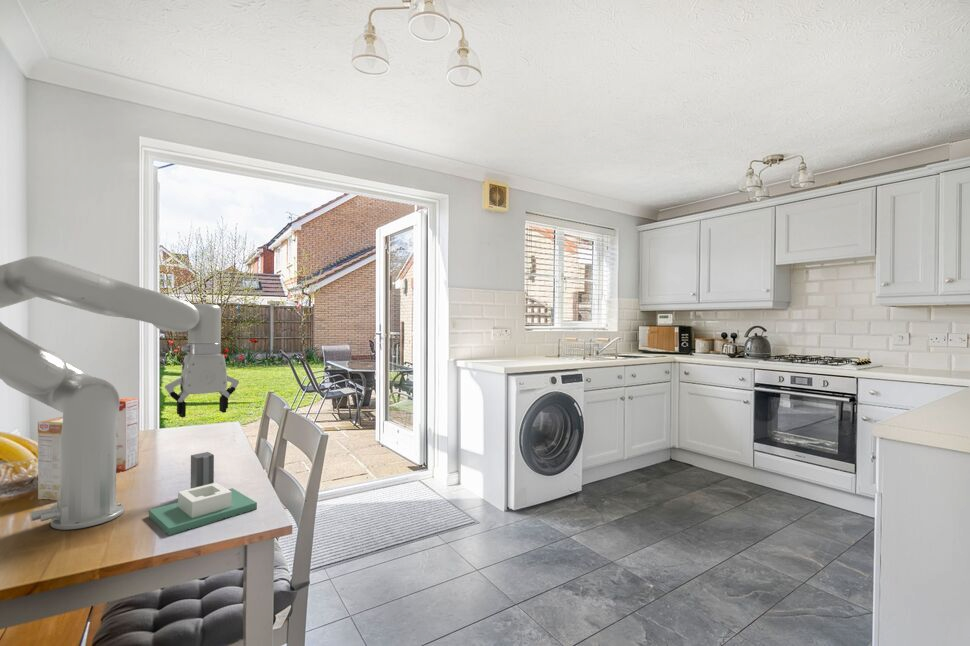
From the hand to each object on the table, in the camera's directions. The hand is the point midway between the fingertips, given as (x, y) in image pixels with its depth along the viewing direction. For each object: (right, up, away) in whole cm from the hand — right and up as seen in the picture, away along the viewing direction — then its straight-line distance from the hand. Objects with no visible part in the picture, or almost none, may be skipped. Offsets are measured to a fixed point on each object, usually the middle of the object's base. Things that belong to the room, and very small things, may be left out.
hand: (203, 414), depth 123 cm
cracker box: (-37, -19, +14) cm, 44 cm away
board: (+10, -20, -15) cm, 27 cm away
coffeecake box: (-31, -20, -2) cm, 37 cm away
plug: (+2, -20, -4) cm, 20 cm away
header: (+10, -19, -15) cm, 26 cm away
